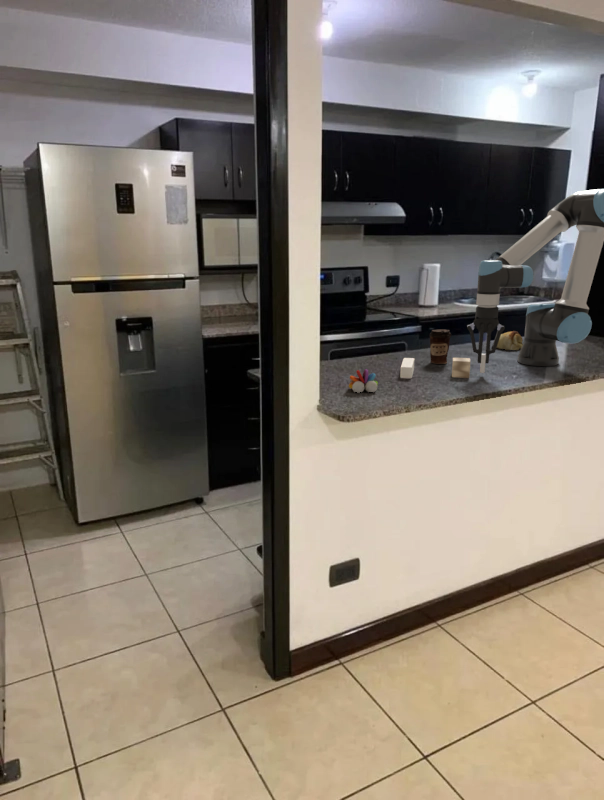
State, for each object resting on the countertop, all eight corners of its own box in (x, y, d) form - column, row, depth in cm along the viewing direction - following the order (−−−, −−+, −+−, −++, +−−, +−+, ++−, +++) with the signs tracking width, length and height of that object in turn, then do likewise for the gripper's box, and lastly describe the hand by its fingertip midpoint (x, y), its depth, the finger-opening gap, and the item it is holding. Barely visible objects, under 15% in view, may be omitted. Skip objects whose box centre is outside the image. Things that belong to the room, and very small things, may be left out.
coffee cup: (449, 365, 230) (451, 332, 227) (428, 364, 232) (429, 331, 228) (449, 360, 239) (451, 328, 235) (428, 360, 240) (429, 328, 237)
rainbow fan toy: (346, 388, 200) (347, 366, 198) (375, 387, 201) (375, 366, 199) (350, 394, 192) (351, 372, 190) (380, 393, 193) (380, 371, 191)
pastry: (523, 351, 255) (525, 333, 253) (493, 350, 259) (495, 332, 256) (521, 345, 269) (522, 328, 266) (492, 344, 272) (493, 327, 269)
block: (468, 374, 217) (469, 358, 215) (469, 378, 211) (470, 361, 210) (451, 373, 218) (452, 357, 217) (452, 377, 213) (452, 361, 211)
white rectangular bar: (414, 368, 226) (414, 358, 225) (411, 378, 211) (412, 367, 210) (403, 368, 227) (403, 357, 226) (400, 377, 212) (400, 367, 211)
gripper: (506, 305, 208) (500, 370, 215) (467, 304, 211) (463, 368, 218) (508, 307, 201) (502, 375, 208) (468, 306, 204) (463, 373, 211)
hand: (482, 371), depth 213 cm, fingers closed
